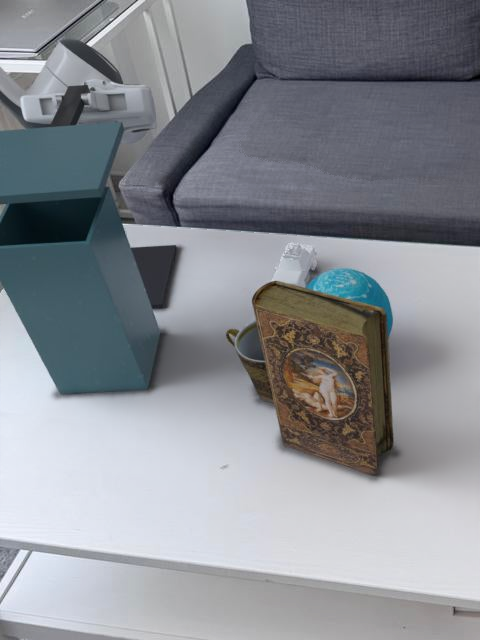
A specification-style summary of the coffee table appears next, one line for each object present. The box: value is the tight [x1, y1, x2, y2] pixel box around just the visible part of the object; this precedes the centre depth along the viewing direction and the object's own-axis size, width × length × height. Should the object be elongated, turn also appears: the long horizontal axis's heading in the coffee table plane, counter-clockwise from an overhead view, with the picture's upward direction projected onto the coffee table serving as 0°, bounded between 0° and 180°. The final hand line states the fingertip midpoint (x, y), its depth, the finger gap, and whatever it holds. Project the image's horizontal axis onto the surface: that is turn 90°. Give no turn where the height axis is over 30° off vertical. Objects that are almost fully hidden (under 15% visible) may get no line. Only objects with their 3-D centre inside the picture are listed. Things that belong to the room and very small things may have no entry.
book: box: [251, 280, 395, 476], centre depth 99 cm, size 16×6×25 cm, turn 65°
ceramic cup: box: [225, 320, 274, 405], centre depth 113 cm, size 13×10×10 cm
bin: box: [0, 186, 161, 395], centre depth 112 cm, size 14×14×26 cm
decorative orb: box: [305, 267, 394, 341], centre depth 115 cm, size 15×15×15 cm
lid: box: [0, 85, 124, 205], centre depth 106 cm, size 31×18×1 cm, turn 3°
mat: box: [131, 244, 178, 309], centre depth 136 cm, size 18×13×1 cm
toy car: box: [270, 241, 318, 288], centre depth 131 cm, size 6×12×7 cm, turn 167°
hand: (72, 100), depth 112 cm, fingers closed on lid, 3 cm apart
